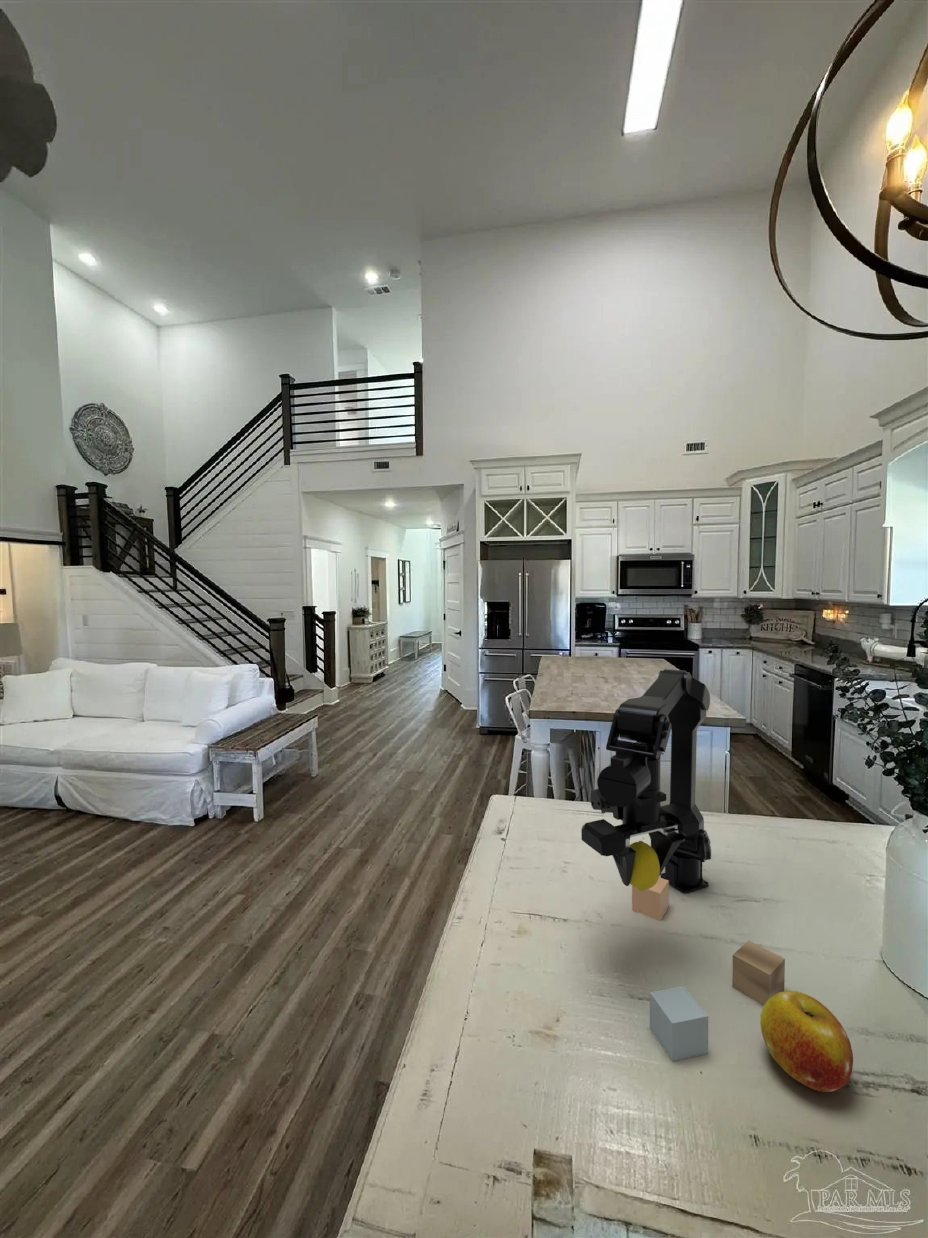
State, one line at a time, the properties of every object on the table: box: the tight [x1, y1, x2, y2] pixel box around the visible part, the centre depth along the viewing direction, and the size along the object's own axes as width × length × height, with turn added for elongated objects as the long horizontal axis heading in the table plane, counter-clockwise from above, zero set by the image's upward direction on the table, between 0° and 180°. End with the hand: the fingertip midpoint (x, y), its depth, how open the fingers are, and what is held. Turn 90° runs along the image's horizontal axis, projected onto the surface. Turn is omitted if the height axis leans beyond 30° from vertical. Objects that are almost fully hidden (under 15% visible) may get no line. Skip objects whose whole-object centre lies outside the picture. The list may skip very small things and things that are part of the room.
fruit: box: [759, 990, 854, 1093], centre depth 61 cm, size 10×9×8 cm
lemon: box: [629, 840, 661, 891], centre depth 80 cm, size 6×6×8 cm
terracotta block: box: [631, 876, 670, 921], centre depth 93 cm, size 5×5×5 cm
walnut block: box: [731, 939, 786, 1007], centre depth 74 cm, size 5×5×5 cm
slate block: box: [649, 985, 709, 1062], centre depth 66 cm, size 5×5×5 cm
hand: (640, 880), depth 81 cm, fingers closed on lemon, 5 cm apart
